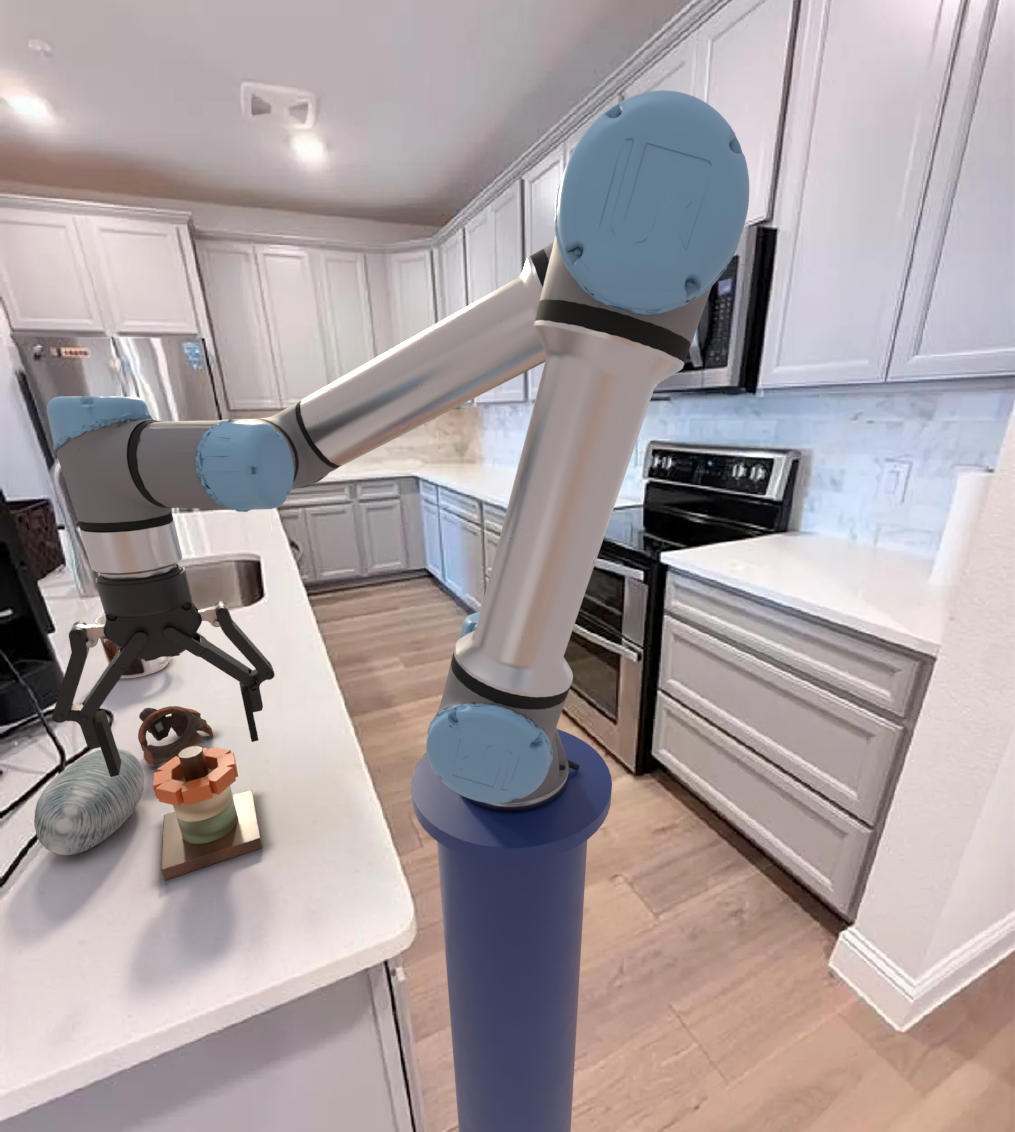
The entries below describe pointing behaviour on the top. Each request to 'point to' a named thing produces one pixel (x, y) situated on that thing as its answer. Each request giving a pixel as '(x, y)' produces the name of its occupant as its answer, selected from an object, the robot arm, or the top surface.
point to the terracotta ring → (197, 789)
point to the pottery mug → (160, 725)
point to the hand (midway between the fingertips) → (188, 751)
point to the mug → (137, 665)
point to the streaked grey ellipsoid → (87, 803)
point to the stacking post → (207, 824)
